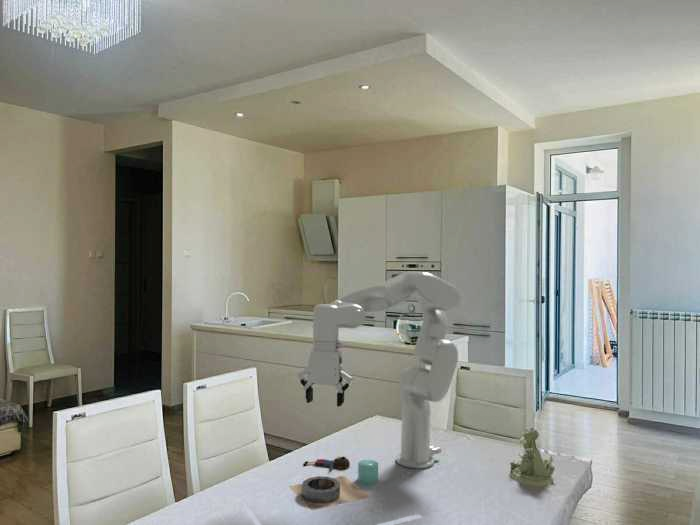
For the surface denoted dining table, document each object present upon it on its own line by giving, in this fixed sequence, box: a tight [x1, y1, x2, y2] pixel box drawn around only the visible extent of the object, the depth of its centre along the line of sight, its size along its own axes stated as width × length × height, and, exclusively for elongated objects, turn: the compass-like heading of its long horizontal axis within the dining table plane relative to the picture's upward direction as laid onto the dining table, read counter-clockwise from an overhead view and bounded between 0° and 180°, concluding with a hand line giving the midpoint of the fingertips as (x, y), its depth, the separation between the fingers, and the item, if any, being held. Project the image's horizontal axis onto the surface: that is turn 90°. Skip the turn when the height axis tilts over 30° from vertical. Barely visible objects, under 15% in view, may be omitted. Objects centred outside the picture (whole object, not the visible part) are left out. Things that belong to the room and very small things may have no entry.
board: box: [289, 475, 371, 511], centre depth 151 cm, size 18×16×1 cm
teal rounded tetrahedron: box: [357, 459, 379, 485], centre depth 159 cm, size 6×6×6 cm
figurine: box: [509, 427, 556, 487], centre depth 166 cm, size 14×13×15 cm
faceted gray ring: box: [301, 475, 340, 504], centre depth 149 cm, size 10×10×3 cm
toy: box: [302, 455, 351, 475], centre depth 171 cm, size 14×5×15 cm
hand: (324, 403), depth 157 cm, fingers open, 9 cm apart
